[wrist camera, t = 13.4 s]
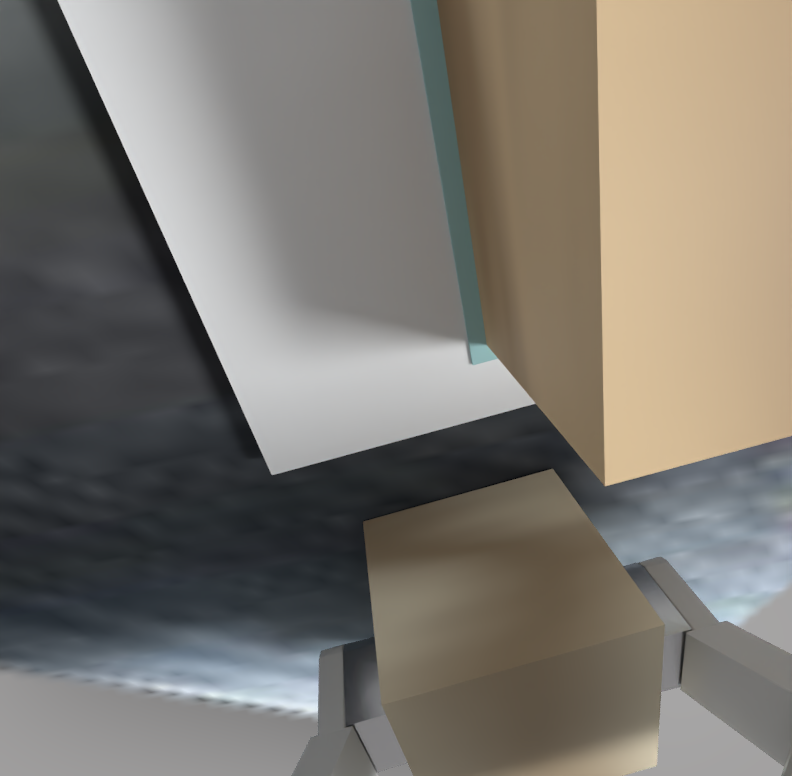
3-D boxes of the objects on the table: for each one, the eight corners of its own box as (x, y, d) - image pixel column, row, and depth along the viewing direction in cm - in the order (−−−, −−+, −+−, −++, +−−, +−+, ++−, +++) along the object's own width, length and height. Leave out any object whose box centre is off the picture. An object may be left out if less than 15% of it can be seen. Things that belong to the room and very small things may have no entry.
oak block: (486, 344, 8) (604, 486, 5) (420, -110, 6) (587, -563, 2) (807, 259, 8) (1152, 337, 5) (900, -229, 6) (1848, -856, 2)
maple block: (406, 641, 13) (437, 829, 9) (363, 521, 11) (381, 704, 7) (565, 596, 13) (656, 765, 9) (552, 468, 11) (665, 624, 7)
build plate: (274, 457, 10) (271, 477, 9) (6, -157, 5) (-33, -195, 5) (787, 318, 10) (816, 329, 9) (911, -385, 6) (979, -446, 5)
